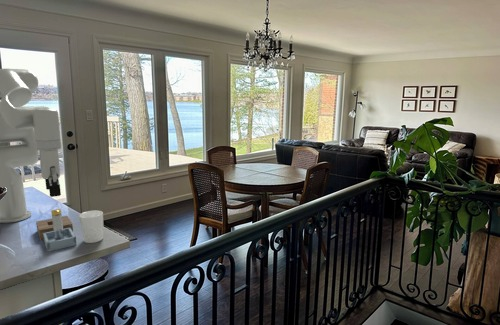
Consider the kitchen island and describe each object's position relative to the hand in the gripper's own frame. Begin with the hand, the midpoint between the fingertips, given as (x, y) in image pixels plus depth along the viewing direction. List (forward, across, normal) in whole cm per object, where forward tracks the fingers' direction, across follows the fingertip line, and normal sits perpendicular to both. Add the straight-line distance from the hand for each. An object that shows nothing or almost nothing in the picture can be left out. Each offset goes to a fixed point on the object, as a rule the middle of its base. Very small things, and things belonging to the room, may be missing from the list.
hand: (53, 192), depth 119 cm
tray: (+19, +1, 0) cm, 19 cm away
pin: (+18, +1, 0) cm, 18 cm away
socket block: (+19, -11, 0) cm, 22 cm away
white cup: (+19, +5, +11) cm, 23 cm away
